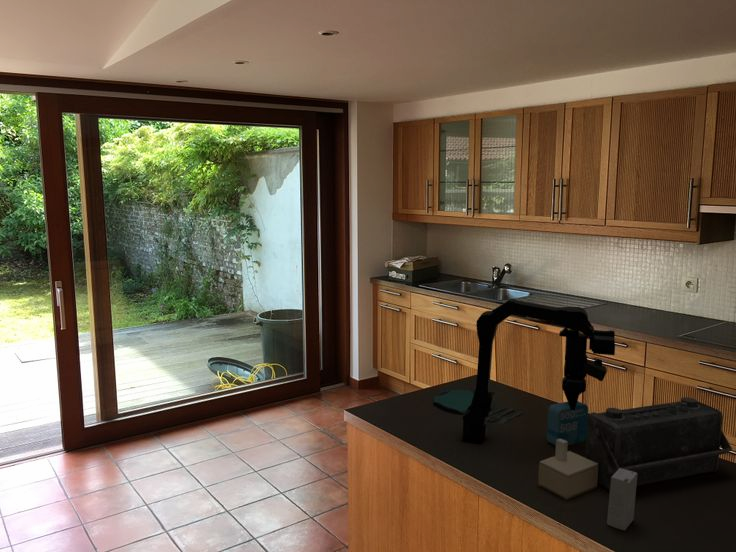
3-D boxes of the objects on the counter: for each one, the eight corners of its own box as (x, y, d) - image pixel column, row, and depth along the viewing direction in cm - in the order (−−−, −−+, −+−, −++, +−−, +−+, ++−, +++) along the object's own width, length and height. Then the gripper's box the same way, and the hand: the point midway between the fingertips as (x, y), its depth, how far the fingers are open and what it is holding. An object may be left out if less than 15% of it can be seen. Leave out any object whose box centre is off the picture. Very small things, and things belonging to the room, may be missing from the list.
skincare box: (615, 514, 146) (618, 466, 144) (634, 521, 143) (638, 472, 141) (605, 525, 141) (609, 475, 139) (626, 532, 138) (629, 482, 137)
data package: (556, 448, 182) (558, 410, 180) (546, 443, 186) (547, 405, 184) (586, 441, 187) (588, 403, 185) (575, 435, 191) (577, 399, 189)
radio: (687, 455, 178) (693, 389, 175) (731, 477, 164) (738, 406, 161) (578, 475, 166) (582, 404, 163) (615, 501, 152) (621, 424, 149)
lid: (539, 463, 159) (540, 443, 158) (569, 453, 165) (570, 433, 164) (567, 477, 151) (569, 456, 151) (597, 465, 158) (599, 445, 157)
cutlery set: (459, 391, 232) (459, 385, 232) (527, 415, 210) (528, 408, 210) (423, 404, 219) (423, 398, 218) (492, 431, 197) (492, 424, 196)
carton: (538, 485, 160) (539, 464, 159) (568, 473, 166) (569, 453, 165) (566, 500, 152) (567, 478, 151) (597, 487, 159) (598, 466, 158)
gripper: (607, 363, 164) (603, 419, 166) (605, 346, 181) (602, 397, 183) (563, 359, 167) (560, 414, 170) (565, 343, 185) (563, 392, 187)
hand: (573, 404), depth 177 cm, fingers open, 9 cm apart
